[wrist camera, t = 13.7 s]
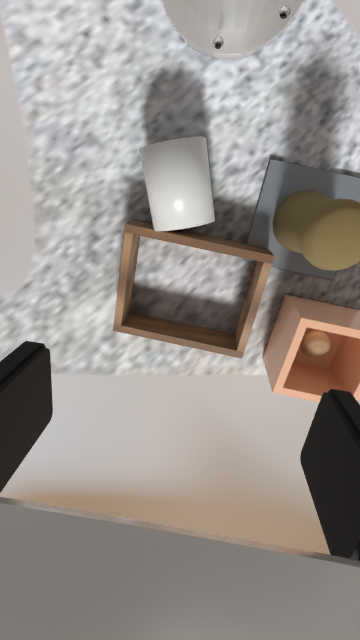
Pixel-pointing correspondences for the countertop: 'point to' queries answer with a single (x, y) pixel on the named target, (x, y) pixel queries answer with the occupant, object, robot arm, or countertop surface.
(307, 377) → the copper open box
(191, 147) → the white plastic tumbler
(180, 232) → the walnut open frame
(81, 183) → the countertop surface
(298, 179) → the slate coaster
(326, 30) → the countertop surface
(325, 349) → the cork ball
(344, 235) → the pepper shaker
